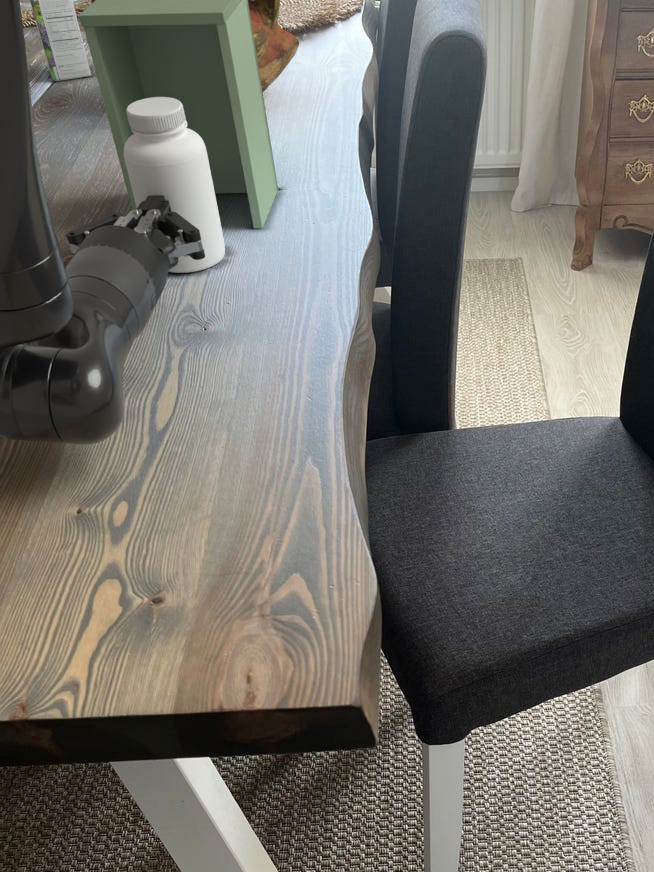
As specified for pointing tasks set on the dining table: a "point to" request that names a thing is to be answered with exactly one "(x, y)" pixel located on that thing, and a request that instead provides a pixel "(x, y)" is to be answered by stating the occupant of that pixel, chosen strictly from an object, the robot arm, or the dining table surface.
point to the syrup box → (61, 38)
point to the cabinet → (189, 83)
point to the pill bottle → (174, 172)
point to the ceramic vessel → (270, 40)
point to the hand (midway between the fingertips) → (159, 205)
